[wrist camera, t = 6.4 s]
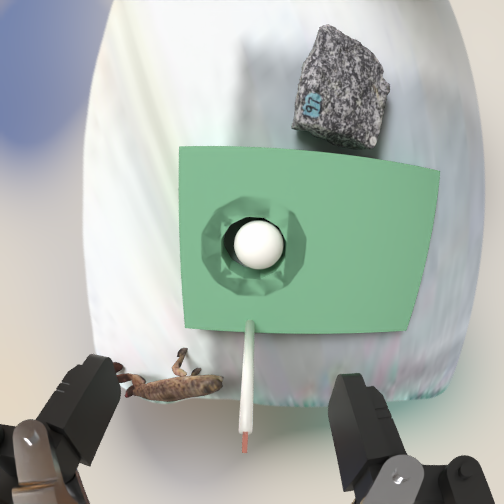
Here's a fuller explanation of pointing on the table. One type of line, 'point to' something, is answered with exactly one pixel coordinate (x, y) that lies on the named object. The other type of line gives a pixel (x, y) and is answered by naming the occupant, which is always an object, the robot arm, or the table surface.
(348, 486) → the robot arm
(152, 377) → the table surface
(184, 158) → the green
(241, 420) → the pin
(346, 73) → the rock
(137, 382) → the toy
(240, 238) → the ball
